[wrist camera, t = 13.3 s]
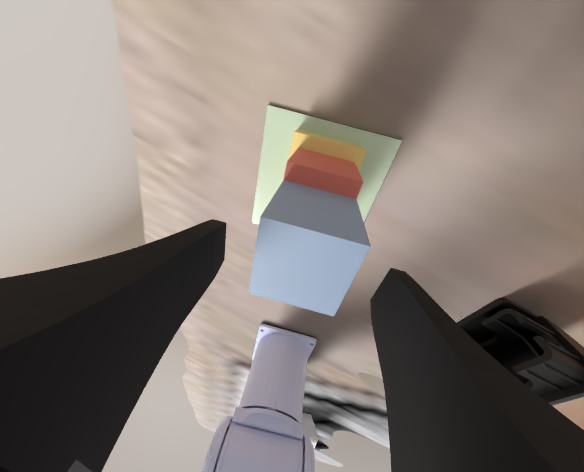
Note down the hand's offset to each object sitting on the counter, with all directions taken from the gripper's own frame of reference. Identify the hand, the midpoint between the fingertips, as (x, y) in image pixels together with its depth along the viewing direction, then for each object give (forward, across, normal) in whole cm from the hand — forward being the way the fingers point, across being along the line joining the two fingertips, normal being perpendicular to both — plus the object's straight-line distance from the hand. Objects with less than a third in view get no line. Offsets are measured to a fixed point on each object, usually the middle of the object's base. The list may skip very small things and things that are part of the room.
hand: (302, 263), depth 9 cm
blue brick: (+4, 0, 0) cm, 4 cm away
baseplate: (+10, 0, 0) cm, 10 cm away
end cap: (+11, -23, +11) cm, 28 cm away
